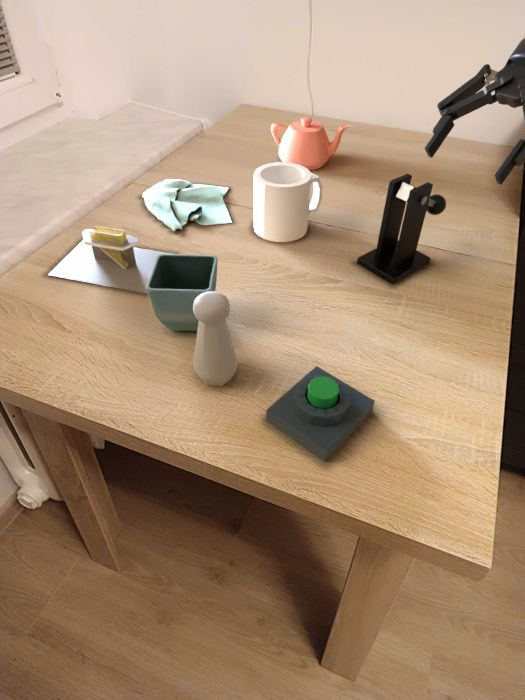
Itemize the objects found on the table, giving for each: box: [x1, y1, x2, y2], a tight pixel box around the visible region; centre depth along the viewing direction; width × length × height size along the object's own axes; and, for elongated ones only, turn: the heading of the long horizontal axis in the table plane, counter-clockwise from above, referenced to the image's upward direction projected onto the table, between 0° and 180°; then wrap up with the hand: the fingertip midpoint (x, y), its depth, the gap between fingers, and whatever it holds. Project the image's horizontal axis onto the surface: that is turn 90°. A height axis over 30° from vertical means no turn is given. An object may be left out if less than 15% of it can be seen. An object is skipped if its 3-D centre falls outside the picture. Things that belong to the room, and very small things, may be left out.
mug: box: [253, 161, 324, 243], centre depth 92 cm, size 14×10×11 cm
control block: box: [265, 365, 376, 463], centre depth 61 cm, size 10×9×4 cm
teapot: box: [270, 116, 351, 171], centre depth 114 cm, size 12×18×10 cm
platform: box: [47, 225, 176, 294], centre depth 84 cm, size 12×18×7 cm, turn 74°
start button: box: [307, 377, 339, 409], centre depth 59 cm, size 4×4×2 cm
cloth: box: [141, 178, 233, 232], centre depth 100 cm, size 20×22×2 cm
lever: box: [396, 182, 447, 216], centre depth 82 cm, size 13×3×3 cm, turn 129°
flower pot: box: [146, 253, 219, 332], centre depth 72 cm, size 9×9×9 cm
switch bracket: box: [356, 173, 434, 285], centre depth 82 cm, size 10×8×15 cm
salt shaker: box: [192, 290, 239, 387], centre depth 63 cm, size 6×6×13 cm
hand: (461, 166), depth 84 cm, fingers open, 13 cm apart
